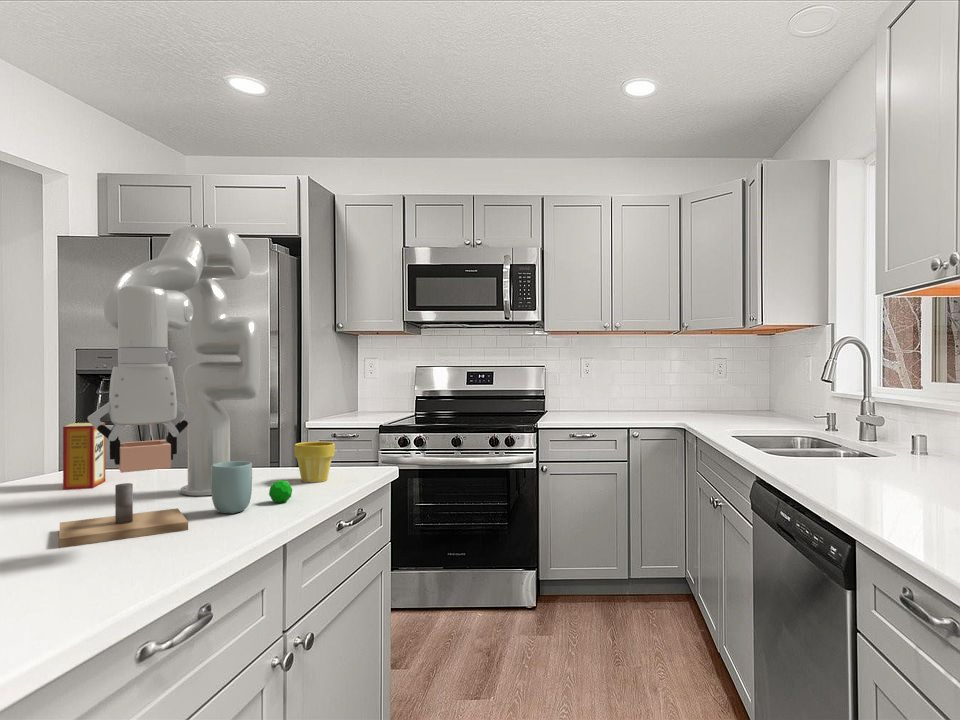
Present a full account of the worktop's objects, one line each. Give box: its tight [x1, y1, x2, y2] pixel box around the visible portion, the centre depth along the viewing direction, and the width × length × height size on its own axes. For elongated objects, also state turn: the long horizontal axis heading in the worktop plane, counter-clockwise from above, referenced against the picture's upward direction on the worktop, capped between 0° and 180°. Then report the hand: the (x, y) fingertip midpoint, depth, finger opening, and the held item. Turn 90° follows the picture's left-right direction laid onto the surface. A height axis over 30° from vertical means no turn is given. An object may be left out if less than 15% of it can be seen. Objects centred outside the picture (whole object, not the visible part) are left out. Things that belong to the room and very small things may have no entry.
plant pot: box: [294, 441, 336, 483], centre depth 165 cm, size 10×10×10 cm
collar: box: [117, 439, 172, 473], centre depth 106 cm, size 7×7×4 cm
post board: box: [58, 482, 189, 548], centre depth 116 cm, size 20×13×8 cm, turn 124°
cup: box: [211, 460, 253, 515], centre depth 130 cm, size 8×8×10 cm
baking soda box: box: [62, 421, 106, 491], centre depth 159 cm, size 10×6×16 cm
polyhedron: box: [268, 479, 293, 504], centre depth 139 cm, size 5×5×5 cm
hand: (144, 460), depth 106 cm, fingers closed on collar, 7 cm apart
